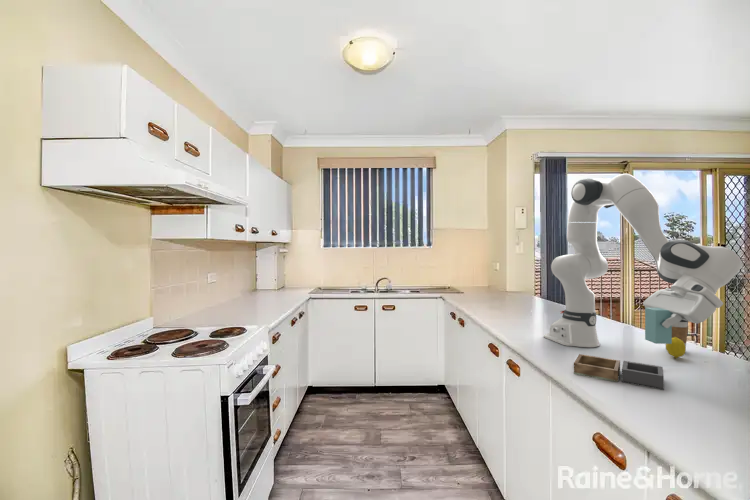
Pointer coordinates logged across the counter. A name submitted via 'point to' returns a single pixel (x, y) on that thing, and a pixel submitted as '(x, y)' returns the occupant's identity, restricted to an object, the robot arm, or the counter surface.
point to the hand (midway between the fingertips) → (655, 323)
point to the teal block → (657, 326)
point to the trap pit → (643, 374)
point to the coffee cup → (680, 330)
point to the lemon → (676, 348)
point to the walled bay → (597, 367)
